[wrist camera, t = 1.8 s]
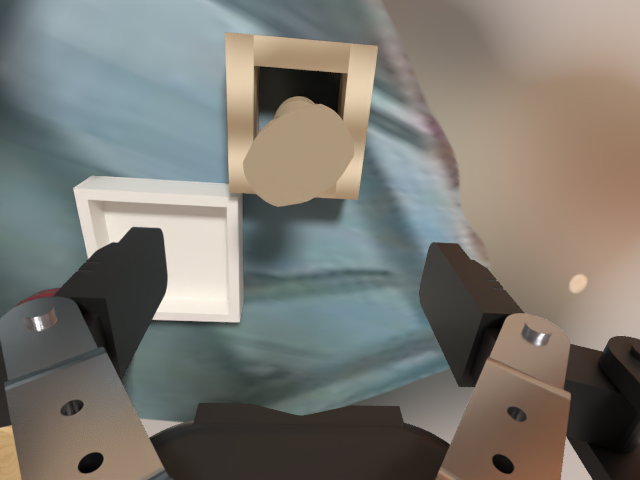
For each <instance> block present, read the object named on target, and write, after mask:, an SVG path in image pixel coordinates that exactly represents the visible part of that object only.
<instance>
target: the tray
mask: <svg viewBox="0 0 640 480" xmlns="http://www.w3.org/2000/svg"><path fill="white" fill-rule="evenodd" d="M73 189H74V194H75V199H76V204H77V208H78V213H79V218H80V222H81V227H82V232H83V236H84V241H85V246H86V251H87V255H88V259H89V258H90V257H91V256H92V255H93V254H94V252H95V251H97V250H98V249H100V248H102V247H104V246H106V245H108V244H110V243H112V242H117V243H118V242H119V241H120V240H121V239H122V238H123V236H124V235H125V234H126V233H127V232H128V231H129V230H130V229H131V228H132V227H150V228H161V230H162V232H163V236H164V245H165V254H166V263H167V273H168V283H167V290H166V293H165V296H164V298H163V300H162V302H161V304H160V305H159V307H158V309H157V311H156V313H155V315H154V317H153V319H152V320H176V321H209V322H240V318H241V313H242V308H243V303H244V288H243V193H230V192H229V184H225V183H208V182H191V181H174V180H158V179H141V178H124V177H107V176H91V177H89V178H88V179H86V180H85V181H83V182H82V183H80V184H79V185H77V186H76V187H74V188H73Z"/></svg>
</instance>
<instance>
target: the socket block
mask: <svg viewBox="0 0 640 480" xmlns="http://www.w3.org/2000/svg"><path fill="white" fill-rule="evenodd" d="M225 44H226V84H227V124H228V164H229V192H230V193H248V194H256V193H255V192H254V191H253V189H252V188H251V186H250V185H249V183H248V181H247V179H246V177H245V174H244V170H243V161H244V159H245V157H246V155H247V153H248V151H249V149H250V147H251V145H252V143H253V141H254V139H255V138H256V136H257V134H258V133H259V66H265V67H277V68H289V69H301V70H313V71H325V72H337V73H341V77H340V88H339V98H338V109H337V114H338V115H339V116H340V117H341V119H342V120H343V121H344V123H345V124H346V126H347V128H348V130H349V132H350V133H351V136H352V139H353V142H354V157H353V158H352V160H351V162H350V163H349V165H348V167H347V168H346V170H345V171H344V173H343V174H342V176H341V177H340V178H339V180H338V181H337V182H336V183H335V184H334V185H333V186H331V187H330V188H329V189H327V190H326V191H324V192H323V193H321V194H319V195H318V196H316V197H318V198H335V199H353V200H358V195H359V187H360V180H361V172H362V165H363V157H364V149H365V142H366V134H367V127H368V119H369V112H370V104H371V96H372V89H373V81H374V74H375V66H376V58H377V51H378V46H372V45H361V44H350V43H339V42H328V41H317V40H306V39H295V38H283V37H272V36H261V35H250V34H239V33H226V32H225Z"/></svg>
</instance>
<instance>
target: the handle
mask: <svg viewBox="0 0 640 480" xmlns="http://www.w3.org/2000/svg"><path fill="white" fill-rule="evenodd" d="M353 157H354V142H353V139H352V136H351V133H350V132H349V130H348V128H347V126H346V124H345V123H344V121H343V120H342V119H341V117H340V116H339V115H338V114H337V113H336V112H335V111H334V110H332V109H330V108H329V107H327V106H325V105H322V104H315V103H314V102H312V101H311V100H310V99H309V98H307V97H301V96H295V97H289V98H287V99H286V100H285V101H284V102H283V103H282V104H281V105H280V107H279V108H278V109H277V111H276V113H275V116H274V119H273V120H272V121H270V122H269V123H268V124H266V125H265V126H264V127H263V128H262V129H261V130H260V131H259V133H258V134H257V136H256V138H255V139H254V141H253V143H252V145H251V147H250V149H249V151H248V153H247V155H246V157H245V159H244V161H243V170H244V174H245V177H246V179H247V181H248V183H249V185H250V186H251V188H252V189H253V191H254V192H255V193H256V194H257V195H258V196H259V197H260V198H262V199H263V200H264V201H266V202H267V203H269V204H271V205H274V206H277V207H280V206H287V205H293V204H299V203H303V202H306V201H309V200H311V199H313V198H315V197H316V196H318V195H319V194H321V193H323V192H324V191H326V190H327V189H329V188H330V187H331V186H333V185H334V184H335V183H336V182H337V181H338V180H339V178H340V177H341V176H342V174H343V173H344V171H345V170H346V168H347V167H348V165H349V163H350V162H351V160H352V158H353Z"/></svg>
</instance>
